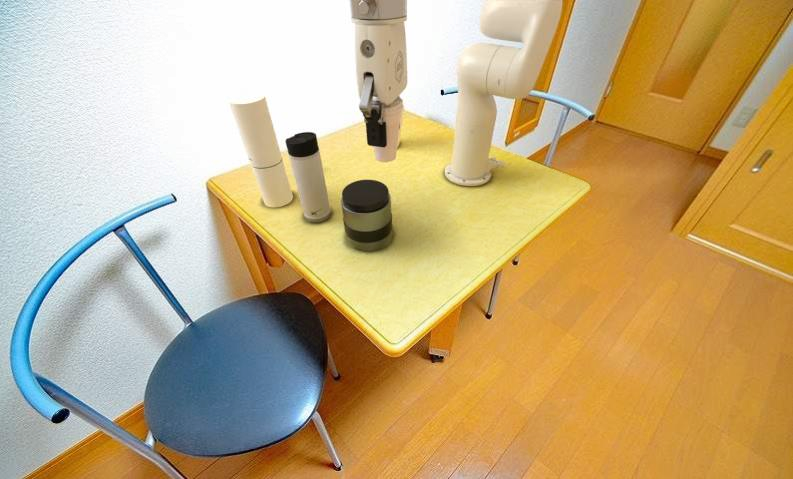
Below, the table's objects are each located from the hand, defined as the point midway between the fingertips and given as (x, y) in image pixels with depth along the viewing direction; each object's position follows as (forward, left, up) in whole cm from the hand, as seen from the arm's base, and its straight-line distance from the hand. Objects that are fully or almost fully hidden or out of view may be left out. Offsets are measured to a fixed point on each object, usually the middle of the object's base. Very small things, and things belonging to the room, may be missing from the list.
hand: (384, 136), depth 55 cm
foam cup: (-8, -45, -24) cm, 51 cm away
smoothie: (0, 0, -4) cm, 4 cm away
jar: (+4, -2, -24) cm, 24 cm away
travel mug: (+15, -12, -24) cm, 30 cm away
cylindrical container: (+25, -21, -24) cm, 40 cm away
